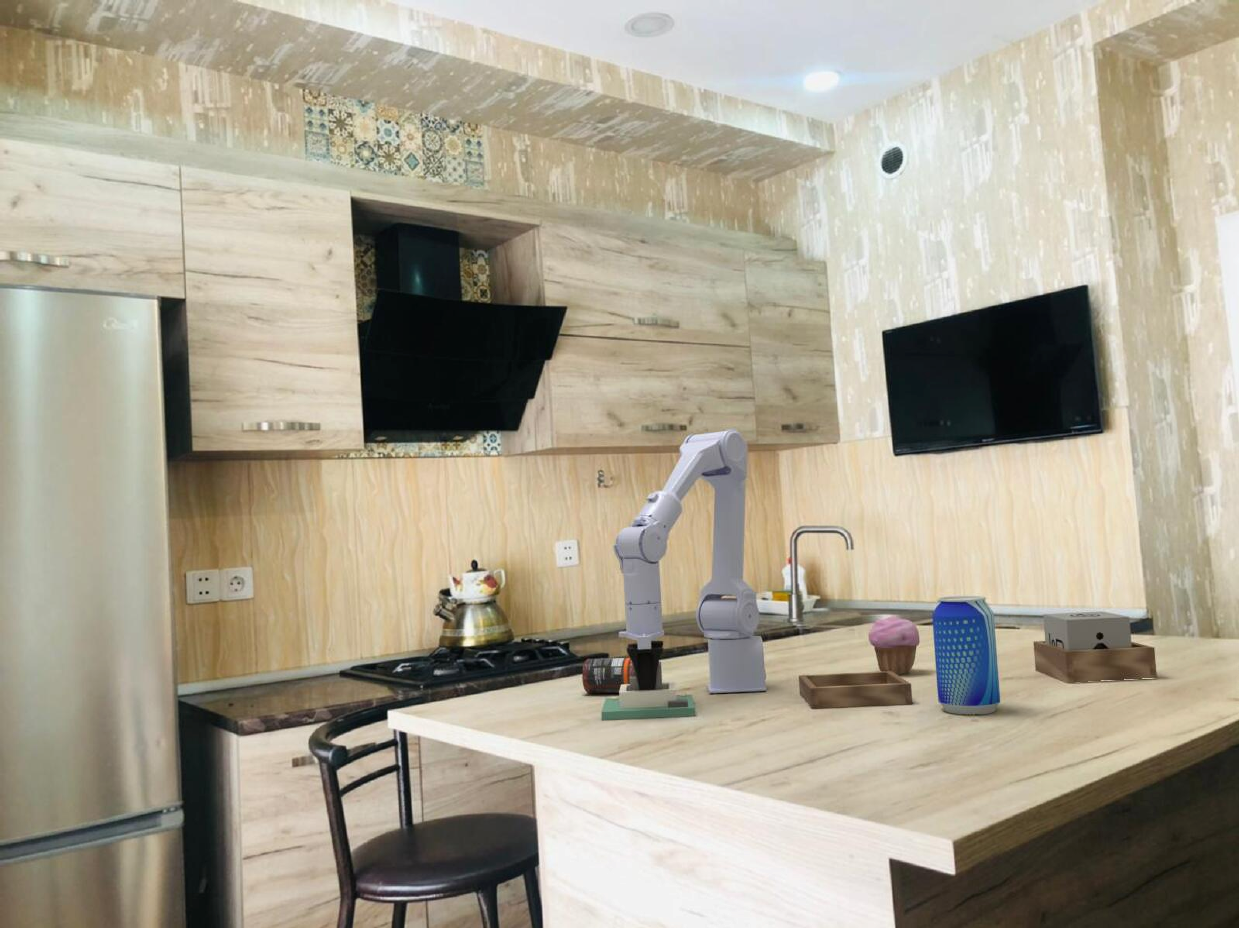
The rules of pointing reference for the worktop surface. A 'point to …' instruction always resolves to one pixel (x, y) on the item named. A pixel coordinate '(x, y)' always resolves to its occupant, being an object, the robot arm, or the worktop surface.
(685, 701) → the board
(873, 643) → the cupcake
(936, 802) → the worktop surface
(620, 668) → the supplement bottle
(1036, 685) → the worktop surface
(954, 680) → the beer can
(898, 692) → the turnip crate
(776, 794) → the worktop surface
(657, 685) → the plug
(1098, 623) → the icon cube
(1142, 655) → the cube crate
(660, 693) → the frame
